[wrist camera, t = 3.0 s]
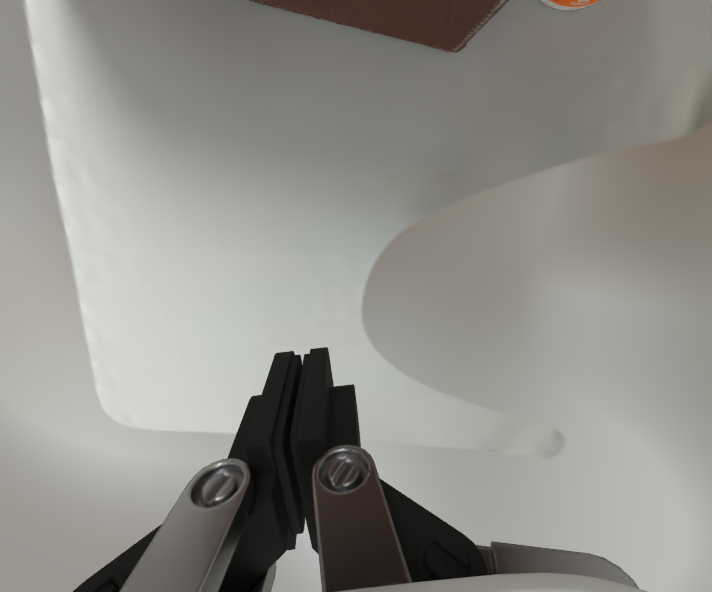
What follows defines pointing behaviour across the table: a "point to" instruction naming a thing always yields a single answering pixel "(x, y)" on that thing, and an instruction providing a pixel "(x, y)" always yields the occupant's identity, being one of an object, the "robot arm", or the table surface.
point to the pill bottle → (569, 4)
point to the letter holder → (404, 17)
